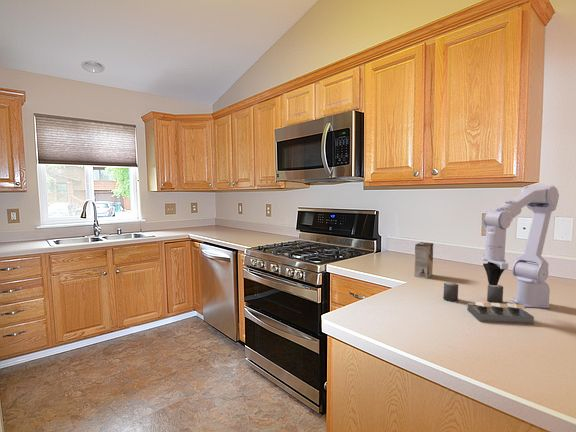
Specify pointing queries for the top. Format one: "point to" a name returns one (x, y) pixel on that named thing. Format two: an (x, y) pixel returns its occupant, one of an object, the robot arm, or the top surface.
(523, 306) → the paddle
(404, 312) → the top surface
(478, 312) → the panel
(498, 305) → the paddle mid
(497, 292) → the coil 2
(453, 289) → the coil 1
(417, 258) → the coffee box
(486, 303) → the paddle
